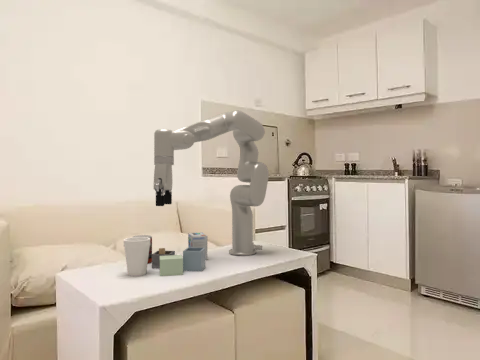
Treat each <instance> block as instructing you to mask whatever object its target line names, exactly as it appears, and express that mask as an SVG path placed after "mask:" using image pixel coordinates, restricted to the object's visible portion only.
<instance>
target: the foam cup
mask: <svg viewBox="0 0 480 360" xmlns="http://www.w3.org/2000/svg"><path fill="white" fill-rule="evenodd" d="M123 247H124V254H125V256H124V257H125V262H126V270H127V274H128V276H129V277H139V276H144V275H146V274H147V271H148V270H147V269H148V264H149V263H148V256H149V248H150V238H148V237H133V236H132V237H127V238H123Z"/></svg>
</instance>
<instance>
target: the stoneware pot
mask: <svg viewBox="0 0 480 360" xmlns="http://www.w3.org/2000/svg"><path fill="white" fill-rule="evenodd" d="M182 258H183V272H203V270H204V269H205V268H206V260H205V248H191V247H188V246H187V247H186V248H184V250H182Z"/></svg>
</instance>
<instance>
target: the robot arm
mask: <svg viewBox="0 0 480 360" xmlns="http://www.w3.org/2000/svg"><path fill="white" fill-rule="evenodd" d="M229 132H232V135H233V138H234V140H235V141H236V143H237V145H238V147H239V149H240V154H239V161H238V167H237V174H236V177H237V179H238V180H239V182H242V183H248V184H238V185H235V186H233V187H232V188H231V190H230V192H229V193H230V194H229V198H230V199H229V200H230V204H231V205H230V206H231V219H232V220H231V222H232V223H231V227H232V229H231V230H232V231H231V232H232V233H231V234H232V235H231V239H232V241H231V243H232V245H231V246H232V247H231V249H228V253H229V254H230V255H232V256H251V255H252V256H253V255H255V254H256V253H257V251H258V250H259V251H262V250H263V245H260V244H254V243H255V242H254V240H253V239H254V236H253V233H254V232H253V228H254V227H253V226H254V224H253V222H254V221H253V218H254V216H253V215H254V214H253V210H252V207H259V206H261V205H262V204H263V203H264V201H265V198H266V194H267V188H268V183H269V175H270V173H269V169H268V167H267V165H266V164H265V163H264V162H262V161H259V149H258V147H257V145H256V143H255V142H259V141H261V140H262V139H263V138H264V136H265V134H266V131H265V127H264V125H262V123H261V122H260V121H259V120H257V119H256V118H254V117H251V115H249V114H247V113H246V112H244V111H242V110H231V111H227V112H223V113H221V114H217V115H215V116H212V117H209V118H207V119H204V120H201V121H198V122H196V123H193V124H190V125H187V126H184V127H182V128H179V129H176V130H171V129H167V128H166V129H164V128H163V129H156V130H155V131H154V133H153V136H154V138H153V141H154V142H153V145H154V147H153V149H154V150H153V151H154V153H153V155H154V158H153V163H154V164H153V165H154V169H153V171H154V172H153V190H154V191H155V206H156V207H165V205H172V204H173V202H172V201H173V199H172V197H173V196H172V193H173V191H172V189H173V166H175V164H174V163H175V151H179V150H187V149H190V148H191V147H193V146H194V144H195V143H198V142H205V141H209V140H212V139H214V138H217V137H219V136H222V135H224V134H227V133H229ZM249 183H250V184H249Z"/></svg>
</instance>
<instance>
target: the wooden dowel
mask: <svg viewBox="0 0 480 360" xmlns="http://www.w3.org/2000/svg"><path fill="white" fill-rule="evenodd" d="M158 251H159V254H165V251H166V248H165V247H160V248H158Z"/></svg>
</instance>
